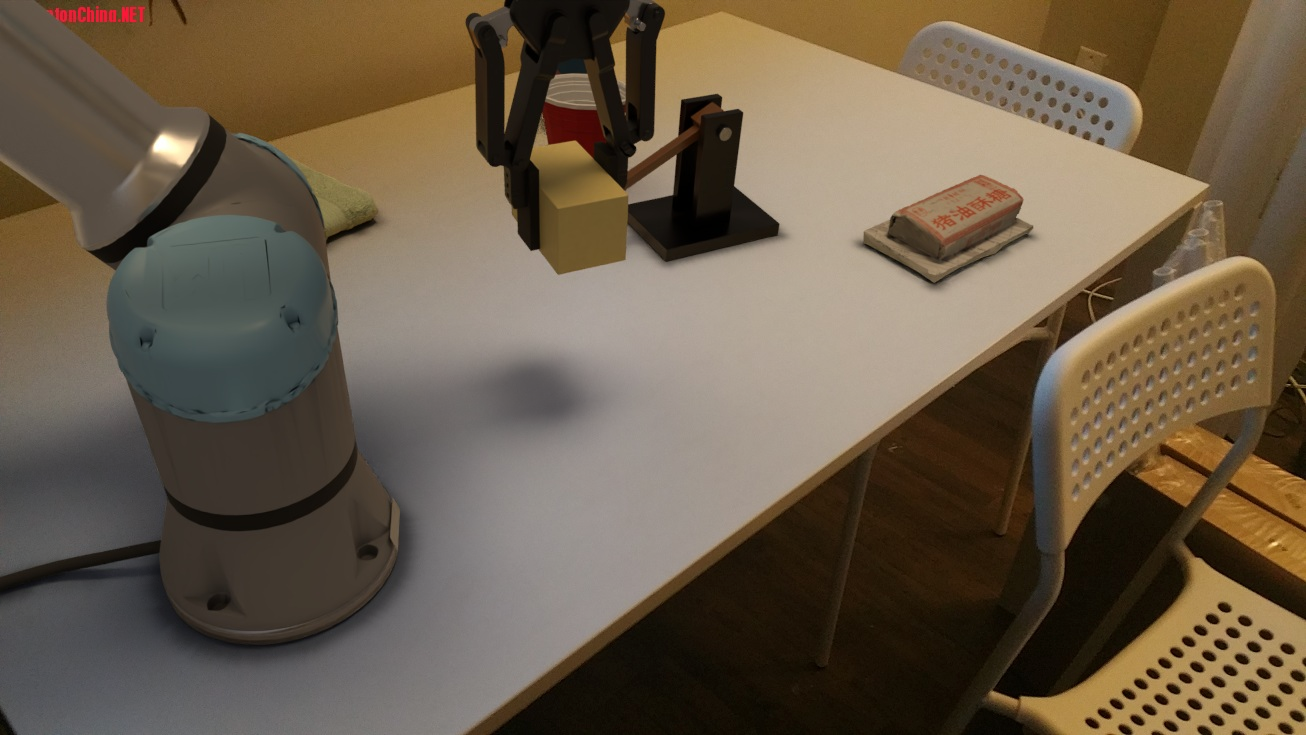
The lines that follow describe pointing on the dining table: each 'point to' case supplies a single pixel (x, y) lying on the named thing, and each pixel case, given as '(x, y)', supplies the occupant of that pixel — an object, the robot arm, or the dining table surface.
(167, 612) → the dining table surface
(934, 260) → the packaged product
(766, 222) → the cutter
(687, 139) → the arm
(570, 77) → the plastic cup
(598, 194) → the butter
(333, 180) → the washcloth
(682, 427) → the dining table surface
